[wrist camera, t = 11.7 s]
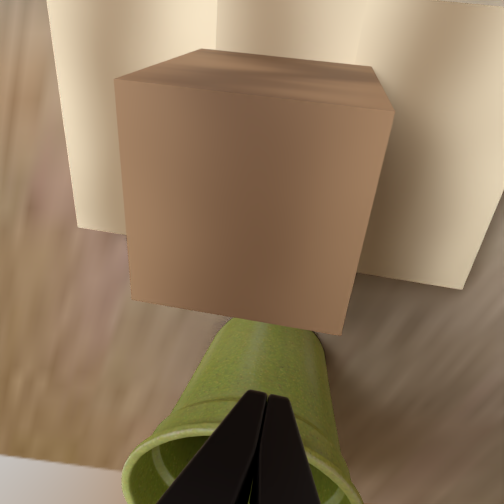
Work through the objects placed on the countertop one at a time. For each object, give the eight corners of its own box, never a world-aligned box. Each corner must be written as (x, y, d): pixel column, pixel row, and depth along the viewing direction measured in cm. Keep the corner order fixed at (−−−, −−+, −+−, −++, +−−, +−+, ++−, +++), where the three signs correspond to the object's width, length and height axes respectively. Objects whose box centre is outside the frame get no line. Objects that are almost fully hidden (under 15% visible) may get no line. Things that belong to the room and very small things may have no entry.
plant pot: (369, 408, 24) (383, 583, 17) (216, 416, 27) (170, 572, 20) (339, 270, 20) (341, 424, 13) (162, 295, 23) (79, 436, 16)
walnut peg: (366, 57, 16) (395, 111, 8) (339, 196, 18) (340, 335, 11) (219, 42, 16) (113, 78, 9) (214, 179, 19) (131, 299, 11)
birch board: (540, 12, 14) (576, 14, 12) (448, 257, 19) (462, 289, 17) (81, -33, 16) (41, -39, 14) (104, 203, 21) (77, 227, 19)
